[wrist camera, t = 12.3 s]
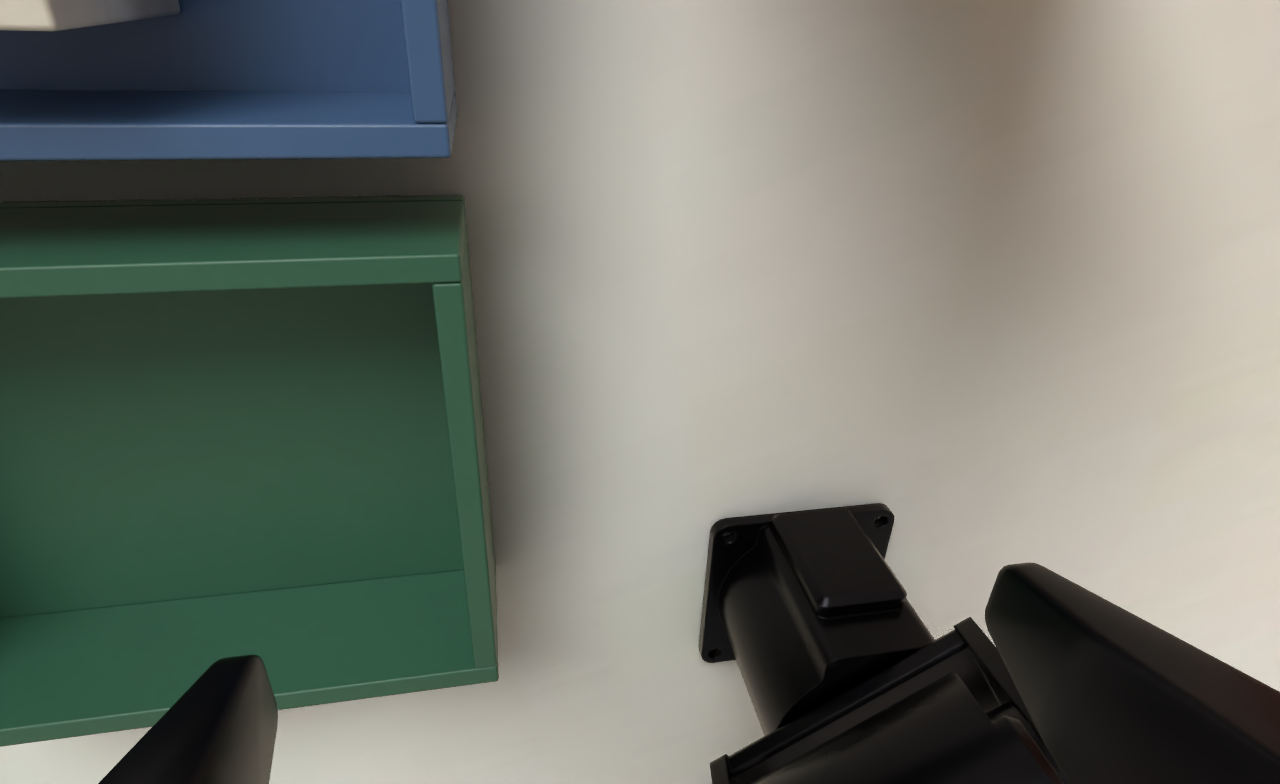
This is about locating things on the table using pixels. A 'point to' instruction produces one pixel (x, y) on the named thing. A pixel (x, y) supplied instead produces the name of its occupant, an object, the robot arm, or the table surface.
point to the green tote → (237, 455)
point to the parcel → (78, 13)
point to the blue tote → (235, 84)
